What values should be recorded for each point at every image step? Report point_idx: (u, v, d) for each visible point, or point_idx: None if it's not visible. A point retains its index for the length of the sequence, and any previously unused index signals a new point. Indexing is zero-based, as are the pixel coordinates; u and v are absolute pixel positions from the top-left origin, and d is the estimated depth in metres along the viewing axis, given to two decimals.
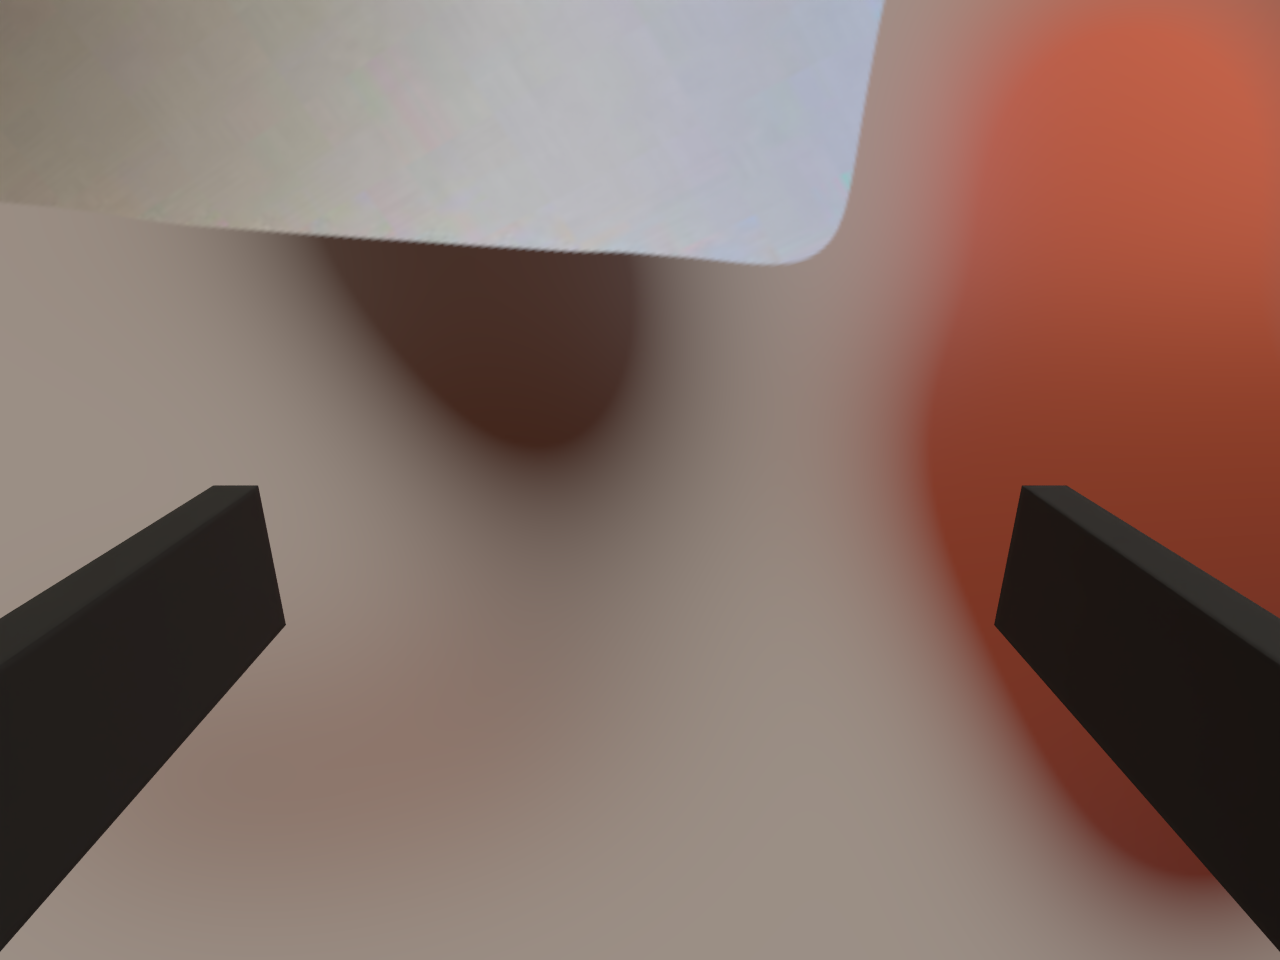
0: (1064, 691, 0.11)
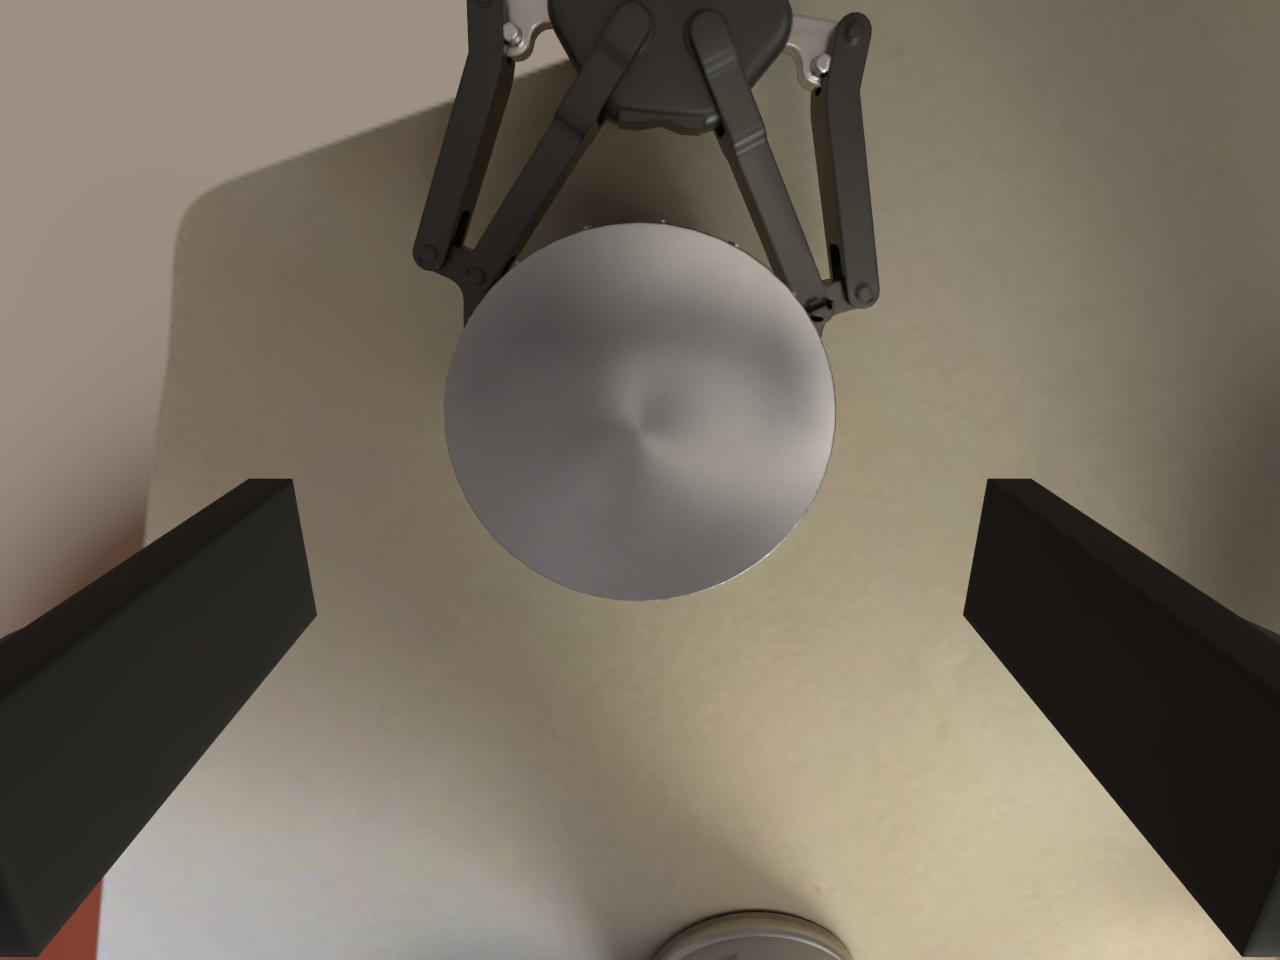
0: (1024, 678, 0.11)
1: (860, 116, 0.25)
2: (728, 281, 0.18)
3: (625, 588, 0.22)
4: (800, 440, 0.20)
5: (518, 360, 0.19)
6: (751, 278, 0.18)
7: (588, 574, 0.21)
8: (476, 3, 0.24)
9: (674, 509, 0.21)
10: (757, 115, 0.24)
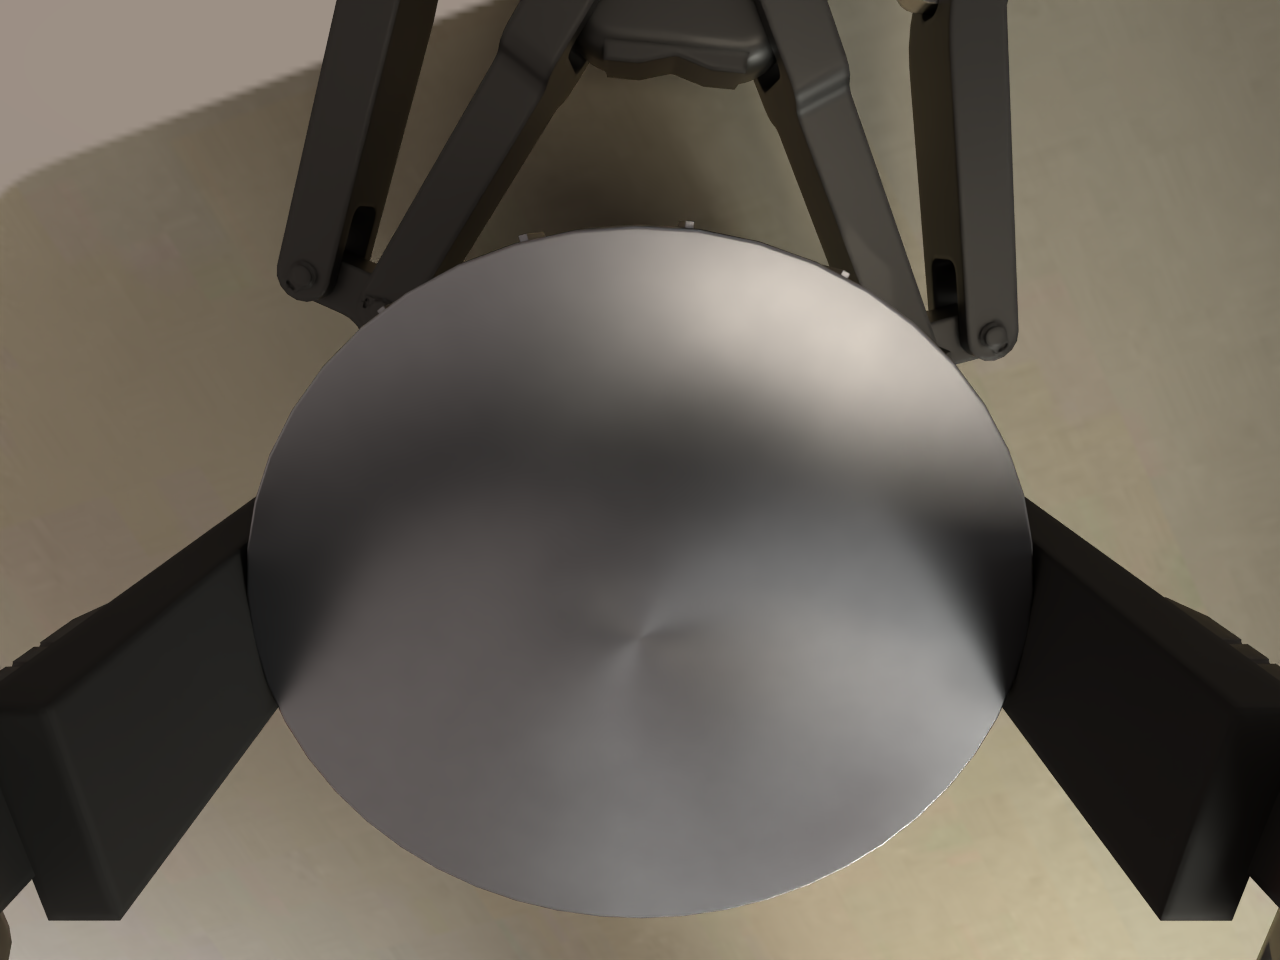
0: None
1: (1005, 49, 0.15)
2: (830, 352, 0.09)
3: (613, 899, 0.12)
4: (957, 656, 0.10)
5: (390, 509, 0.09)
6: (878, 346, 0.09)
7: (544, 877, 0.12)
8: None
9: (705, 774, 0.11)
10: (837, 46, 0.15)
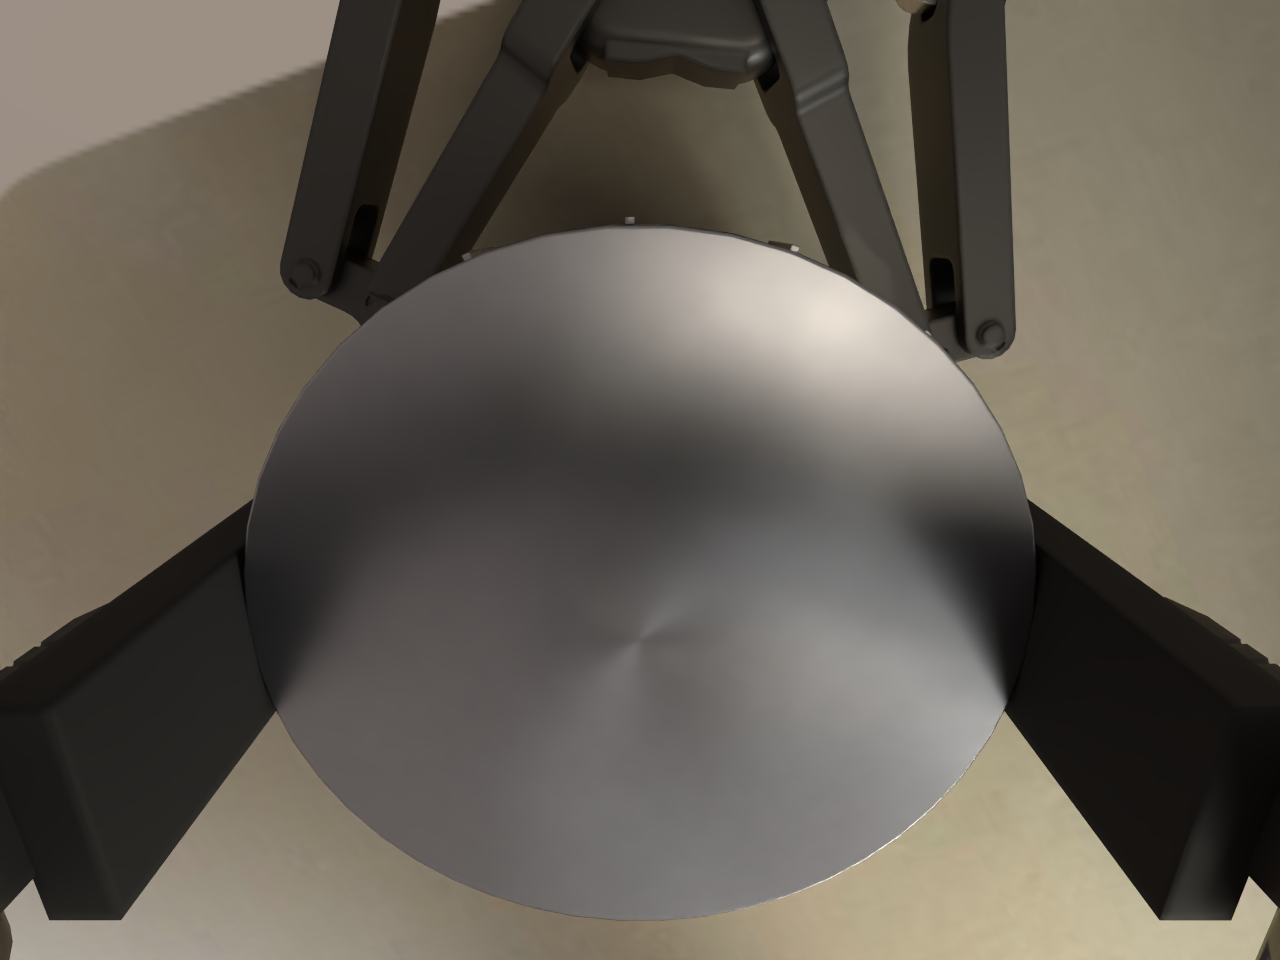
0: None
1: (1003, 50, 0.15)
2: (392, 395, 0.09)
3: (946, 757, 0.11)
4: (786, 339, 0.08)
5: (448, 779, 0.11)
6: (397, 348, 0.09)
7: (885, 804, 0.11)
8: None
9: (827, 629, 0.10)
10: (836, 46, 0.15)
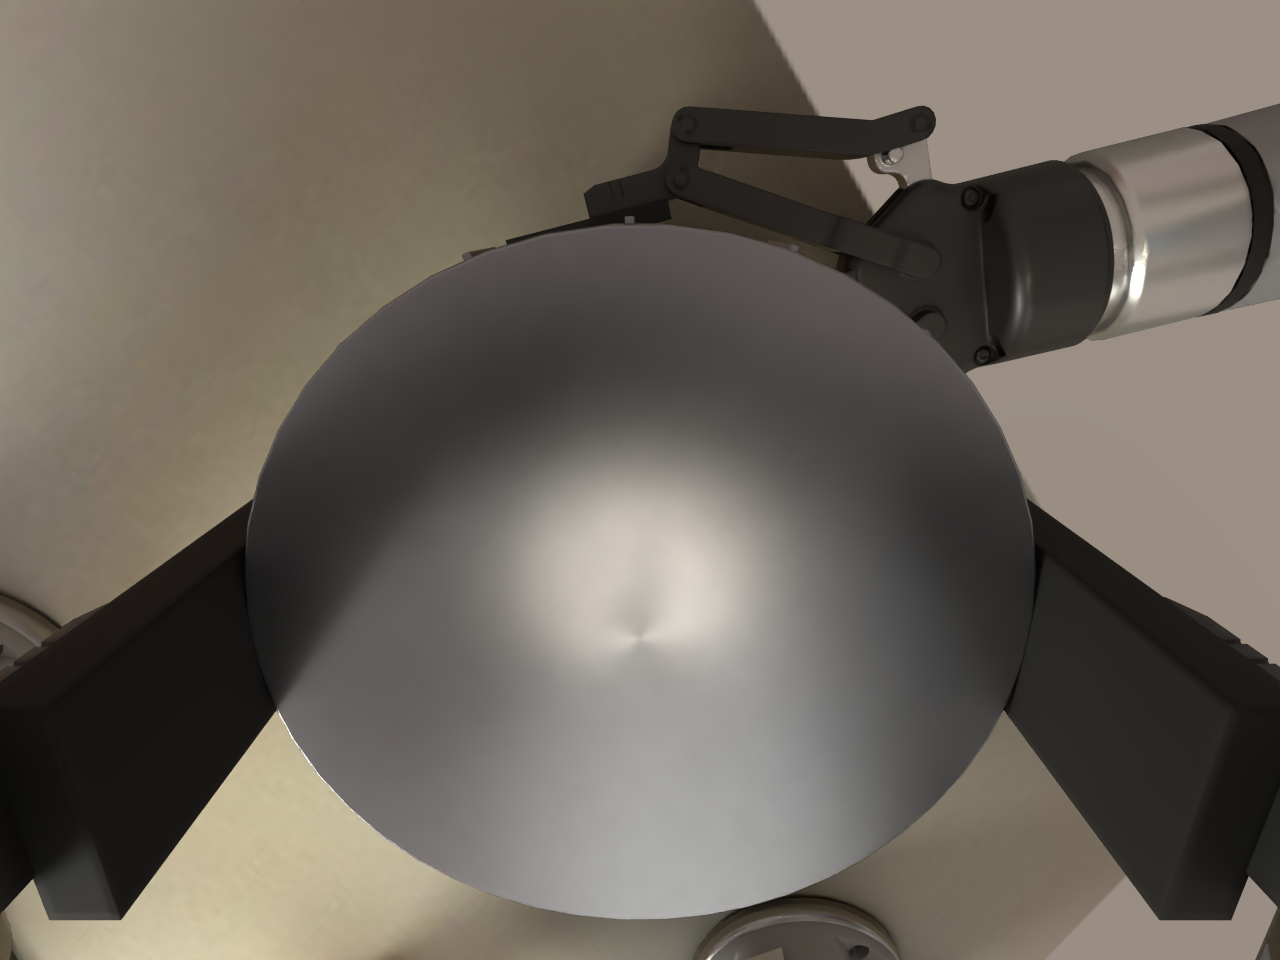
0: None
1: None
2: (392, 394, 0.09)
3: (946, 756, 0.11)
4: (786, 339, 0.09)
5: (448, 778, 0.11)
6: (397, 347, 0.09)
7: (884, 803, 0.11)
8: (912, 117, 0.26)
9: (826, 628, 0.10)
10: None
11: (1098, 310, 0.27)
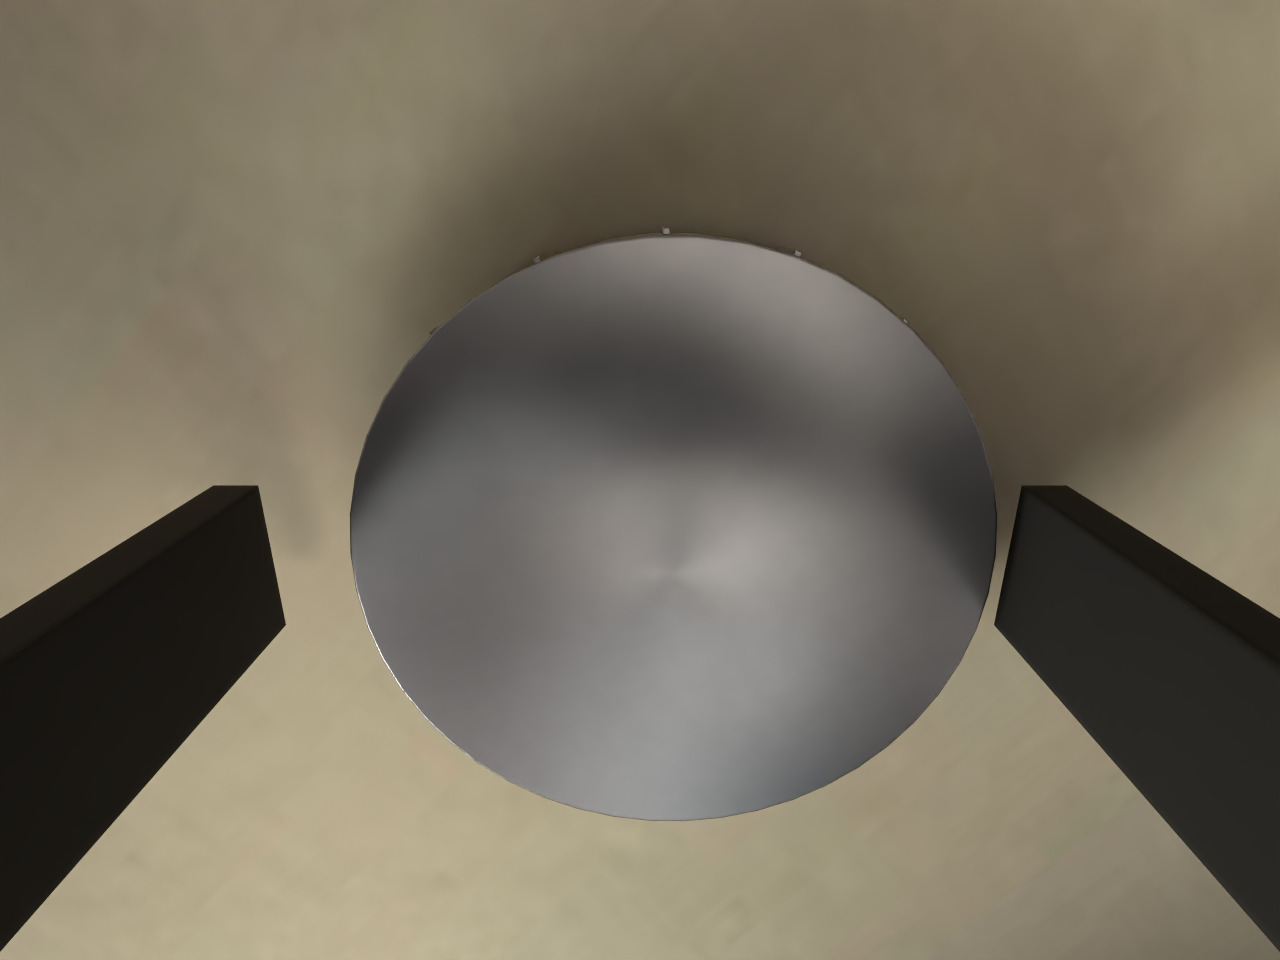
0: (1063, 691, 0.11)
1: None
2: (476, 370, 0.11)
3: (924, 677, 0.13)
4: (791, 326, 0.11)
5: (509, 693, 0.13)
6: (481, 332, 0.11)
7: (873, 718, 0.13)
8: None
9: (824, 566, 0.12)
10: None
11: None
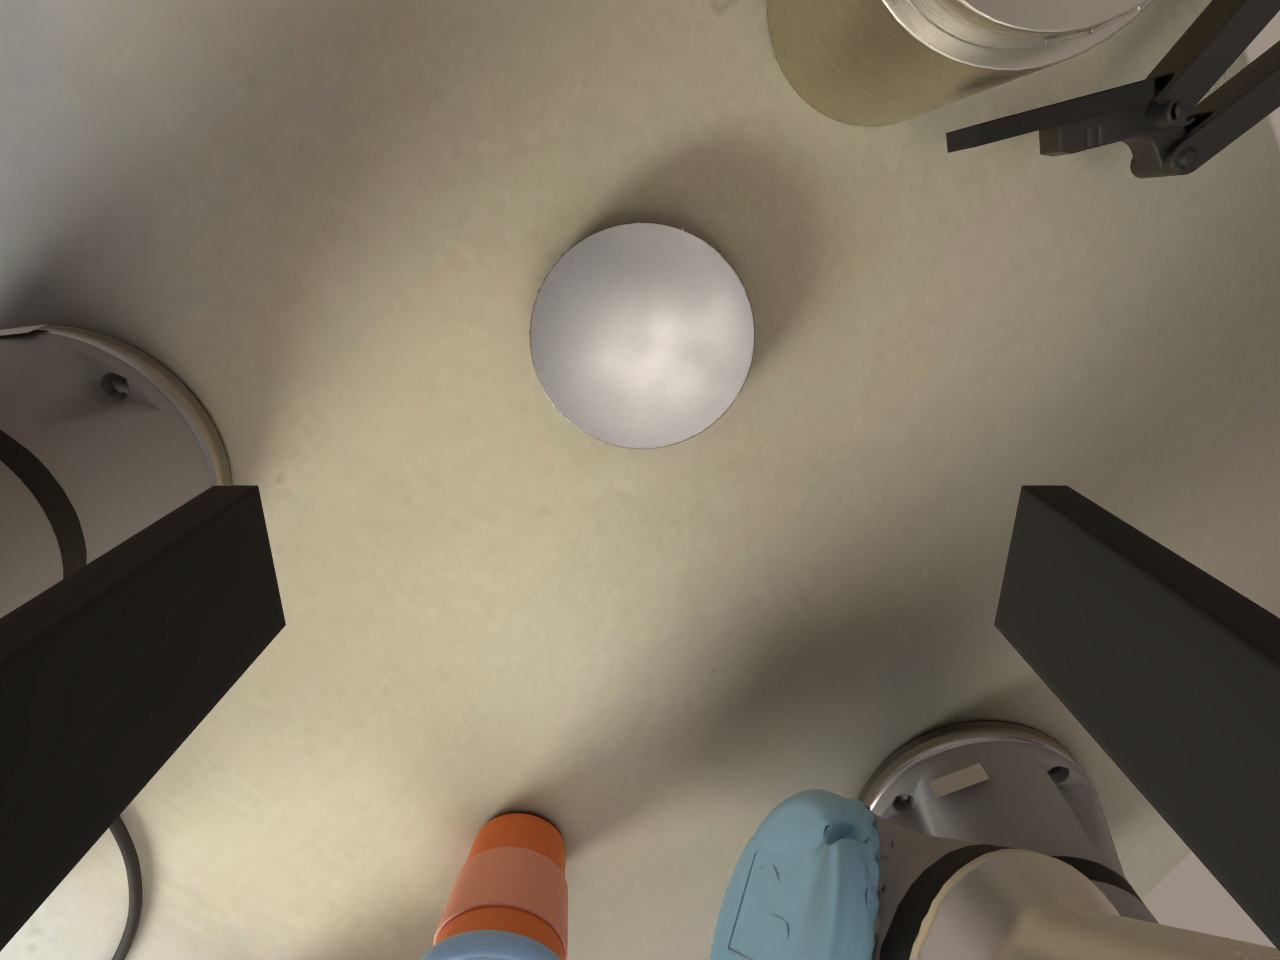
0: (1064, 691, 0.11)
1: None
2: (577, 267, 0.33)
3: (734, 383, 0.35)
4: (680, 252, 0.33)
5: (583, 392, 0.35)
6: (579, 254, 0.33)
7: (717, 401, 0.36)
8: None
9: (695, 338, 0.34)
10: None
11: None
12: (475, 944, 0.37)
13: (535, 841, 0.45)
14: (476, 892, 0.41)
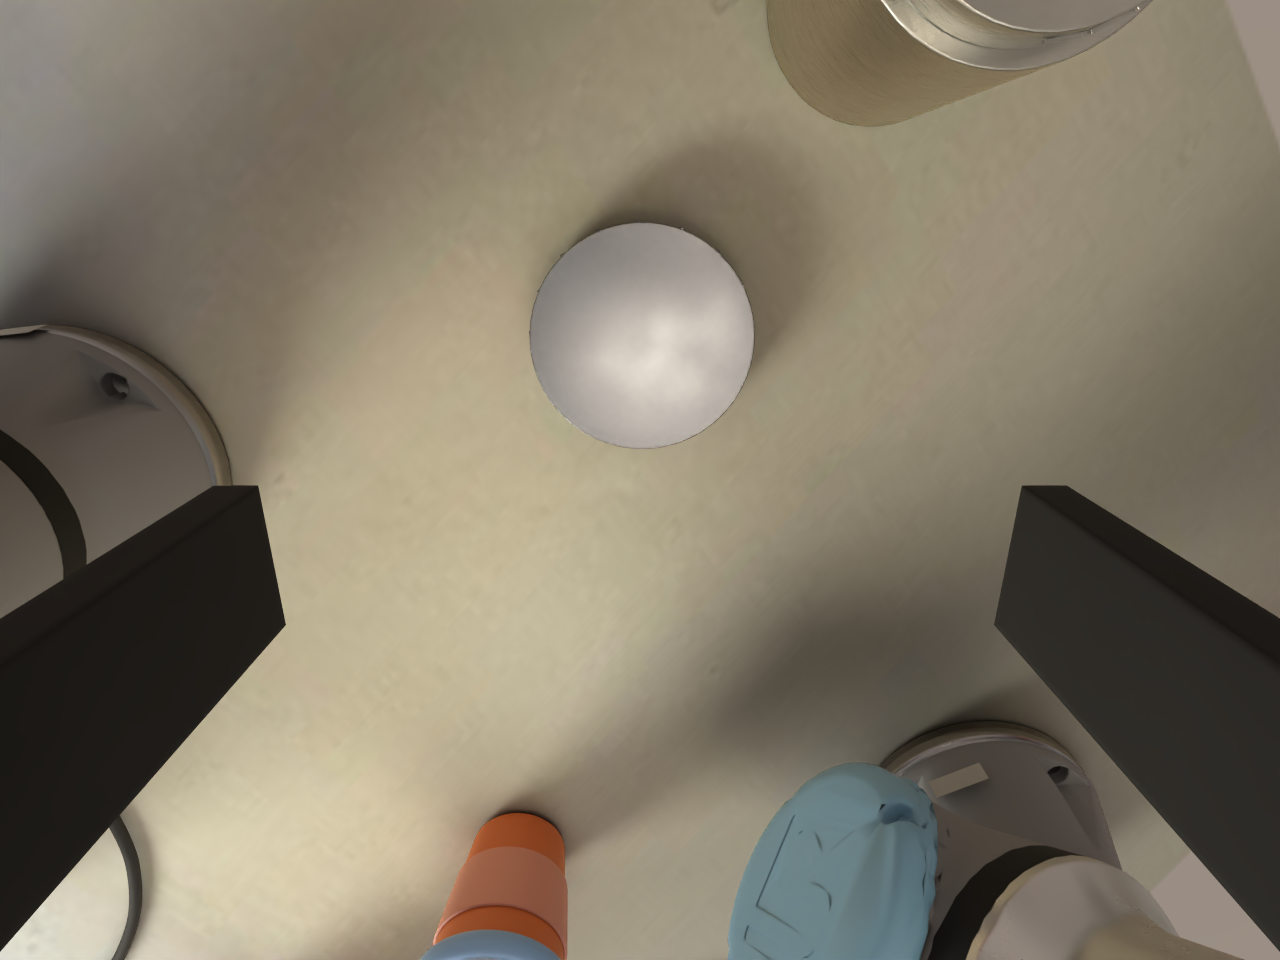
0: (1064, 691, 0.11)
1: None
2: (577, 267, 0.33)
3: (734, 383, 0.35)
4: (679, 251, 0.33)
5: (583, 391, 0.35)
6: (579, 254, 0.33)
7: (717, 401, 0.36)
8: None
9: (695, 338, 0.34)
10: None
11: None
12: (475, 944, 0.37)
13: (535, 840, 0.45)
14: (476, 892, 0.41)
